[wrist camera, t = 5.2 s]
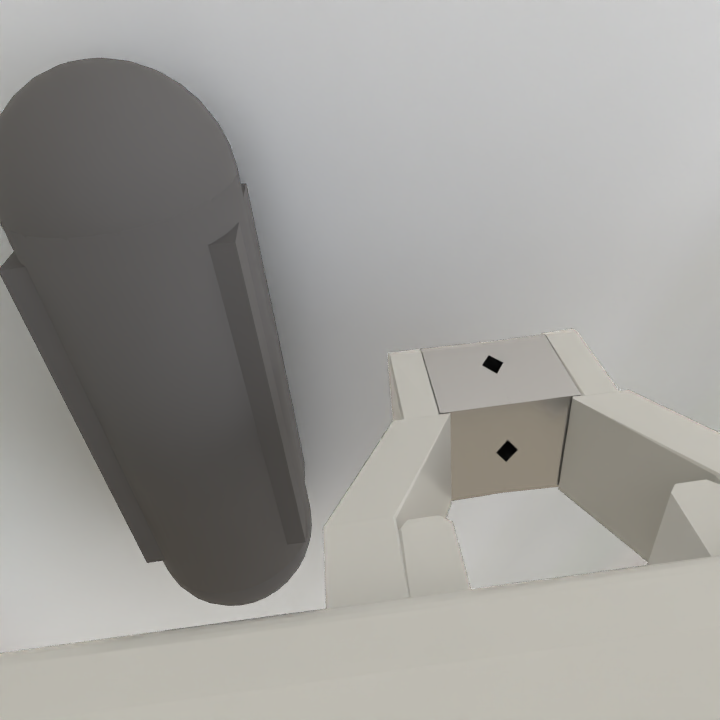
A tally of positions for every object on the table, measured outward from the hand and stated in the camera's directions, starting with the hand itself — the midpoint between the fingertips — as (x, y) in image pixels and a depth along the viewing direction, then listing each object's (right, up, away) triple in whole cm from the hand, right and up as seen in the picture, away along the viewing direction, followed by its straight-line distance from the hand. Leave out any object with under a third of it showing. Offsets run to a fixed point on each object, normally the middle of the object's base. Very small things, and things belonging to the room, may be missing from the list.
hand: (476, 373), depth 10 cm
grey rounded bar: (-5, +1, +1) cm, 5 cm away
